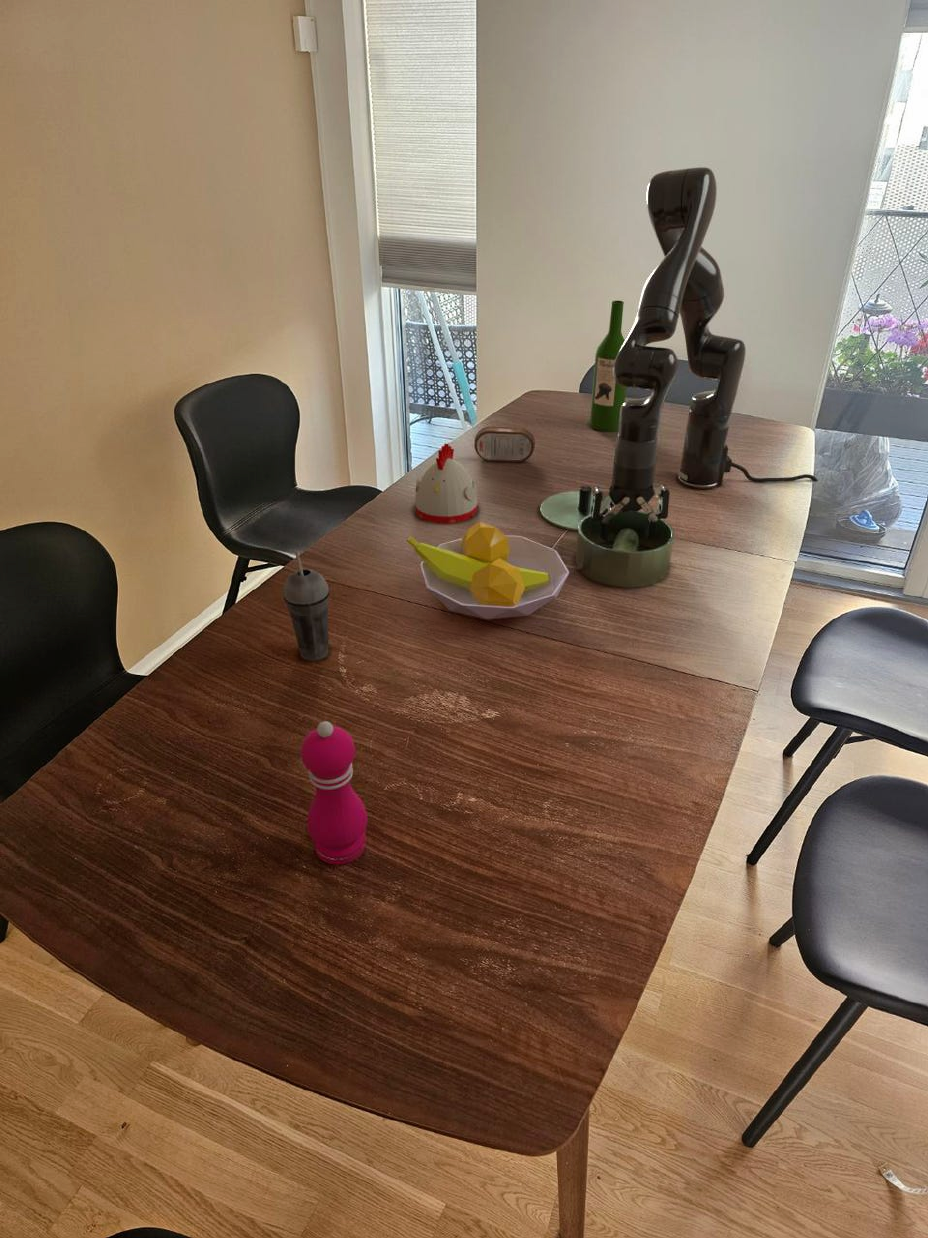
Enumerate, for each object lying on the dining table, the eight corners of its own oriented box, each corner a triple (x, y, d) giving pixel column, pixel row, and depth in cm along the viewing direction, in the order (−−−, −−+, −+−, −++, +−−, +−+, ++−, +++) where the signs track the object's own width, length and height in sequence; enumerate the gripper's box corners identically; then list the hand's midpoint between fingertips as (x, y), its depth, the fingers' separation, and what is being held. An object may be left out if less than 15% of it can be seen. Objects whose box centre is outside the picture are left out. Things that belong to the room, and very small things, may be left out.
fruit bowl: (583, 576, 154) (587, 523, 148) (532, 651, 134) (535, 594, 127) (451, 547, 164) (450, 496, 158) (385, 613, 143) (382, 558, 137)
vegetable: (629, 581, 151) (632, 557, 149) (602, 576, 153) (604, 553, 150) (640, 547, 162) (643, 525, 160) (615, 543, 164) (617, 521, 161)
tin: (534, 459, 202) (535, 426, 197) (533, 463, 199) (535, 431, 195) (474, 457, 203) (474, 424, 199) (473, 461, 201) (473, 429, 196)
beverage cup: (344, 644, 136) (332, 539, 124) (324, 669, 130) (310, 561, 119) (305, 636, 138) (290, 532, 126) (284, 660, 132) (266, 554, 121)
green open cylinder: (656, 541, 166) (661, 508, 161) (679, 586, 151) (685, 551, 146) (569, 543, 165) (572, 510, 161) (583, 588, 150) (586, 553, 146)
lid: (617, 494, 184) (620, 469, 181) (635, 533, 168) (639, 506, 165) (535, 496, 184) (536, 471, 180) (545, 535, 168) (547, 508, 164)
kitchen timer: (405, 517, 175) (401, 452, 167) (429, 492, 186) (427, 430, 177) (465, 527, 171) (464, 461, 163) (485, 501, 182) (486, 437, 173)
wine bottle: (585, 428, 219) (596, 303, 201) (594, 418, 226) (604, 296, 208) (618, 433, 216) (631, 306, 198) (625, 422, 223) (639, 299, 205)
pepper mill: (313, 825, 103) (294, 704, 91) (370, 821, 103) (358, 700, 92) (309, 871, 97) (288, 747, 85) (369, 866, 97) (356, 743, 86)
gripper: (668, 449, 149) (658, 527, 158) (592, 451, 148) (586, 529, 158) (679, 466, 143) (667, 546, 152) (599, 468, 142) (592, 548, 151)
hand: (626, 537), depth 155 cm, fingers open, 8 cm apart
